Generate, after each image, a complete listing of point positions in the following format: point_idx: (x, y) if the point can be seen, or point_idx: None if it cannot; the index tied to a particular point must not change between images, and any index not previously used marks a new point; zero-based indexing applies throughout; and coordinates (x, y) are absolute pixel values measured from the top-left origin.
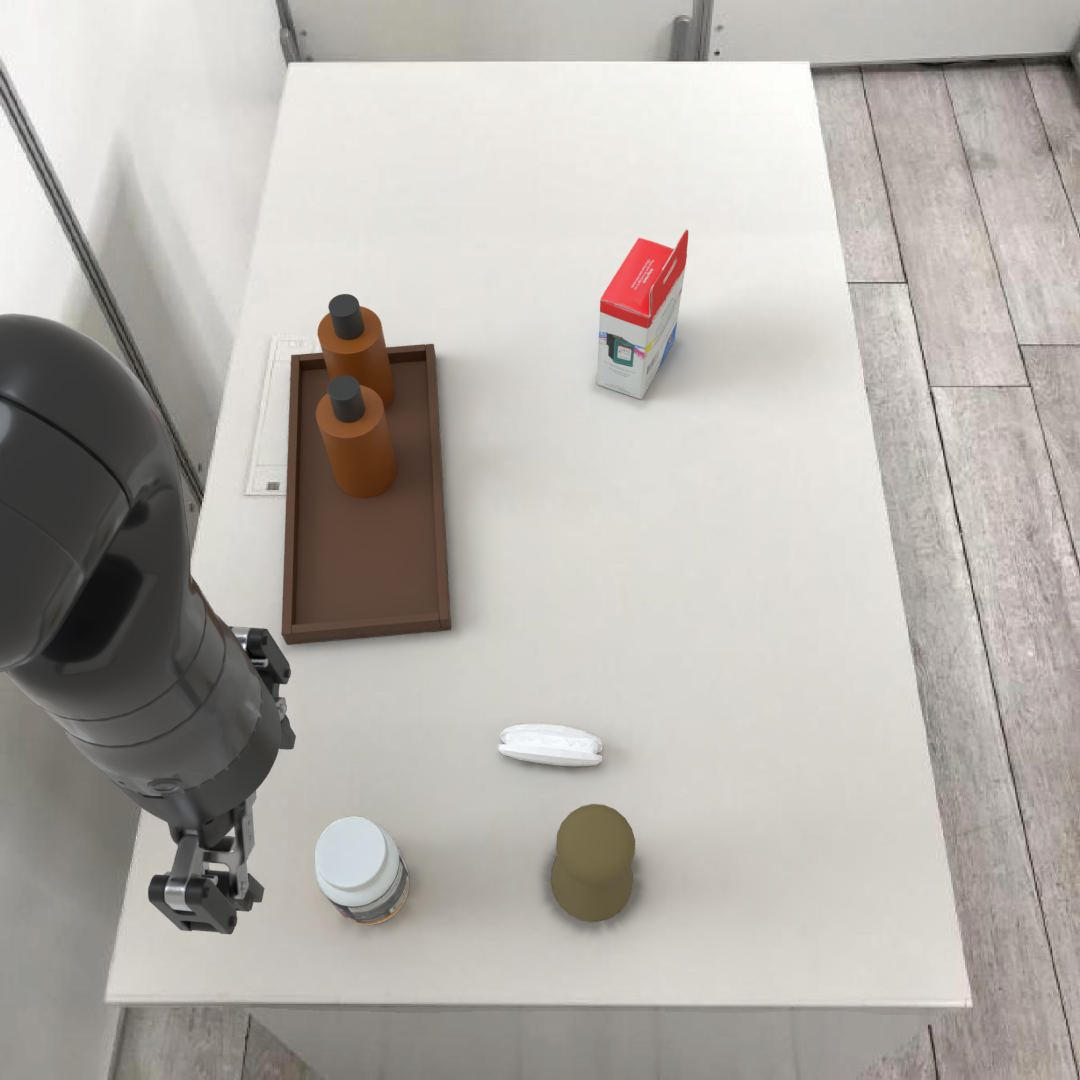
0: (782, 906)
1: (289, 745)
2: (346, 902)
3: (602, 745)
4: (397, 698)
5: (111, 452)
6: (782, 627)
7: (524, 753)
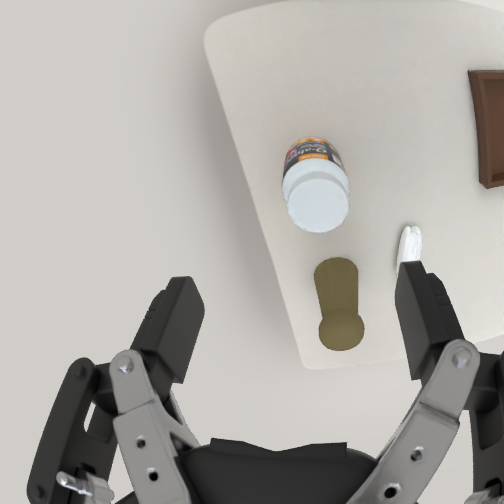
0: None
1: (398, 309)
2: (283, 193)
3: None
4: (439, 153)
5: None
6: None
7: (404, 247)
